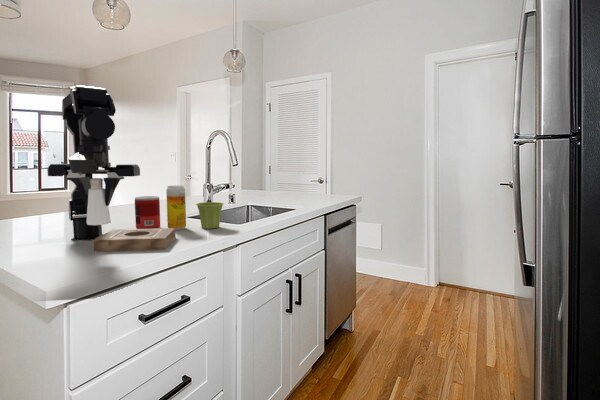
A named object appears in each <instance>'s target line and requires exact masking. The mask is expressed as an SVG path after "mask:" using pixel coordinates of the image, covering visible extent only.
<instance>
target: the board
mask: <svg viewBox="0 0 600 400" xmlns="http://www.w3.org/2000/svg"><path fill="white" fill-rule="evenodd" d="M102 234H103V233H102ZM175 239H176V230H175V228H168V227H166V228H165V227H163V228H162V227H161V228H158V229H137V228H131V229H130V228H121V229H120V228H119V229H115V228H114V229H110V231H109V230H108V231H107V232H105V233H104V234H103V235H101V236H100V237H98V238H96V239H94V240H92V243H93V244H92V246H93V252H113V251H114V252H115V251H120V252H121V251H144V250H145V251H146V250H148V251H149V250H151V251H152V250H166V249H167V248H168V247H169V246H170V245H171V243H172V242H173V241H174V240H175Z"/></svg>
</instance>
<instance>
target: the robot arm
mask: <svg viewBox="0 0 600 400" xmlns="http://www.w3.org/2000/svg"><path fill="white" fill-rule="evenodd" d="M69 89H70V90H69V94H67V95H65V97H64V98H62V102H61V105H62V106H61V114H62V115H61V118H62V120H63V121H65V127H66V129H67V130H68V132H69V133H70V134H71V135H72V141H73V155H71V156H70V157H68V158H67V160H68V163H52V164H49V165H48V167H47V177H63V176H67V177H66V178H65V179H66V181H70V182H72V183H73V184H74V185H75V187H74V189H73V190H72V191H71V194H70V199H68V219H69V220H70V221H72V229H73V237H72V238H71V239H70V241H93V240H94V239H96V238H98V237H100V236H101V235H103V230H102V229H103V228H102V227H103V225H88V224H87V206H88V189H90V188H91V185H90V184H91V183H90V179H91V178H93V177H94V176H93V175H106V176H107V177H102V179H103V183H104V189H105V204H106V206H108V207H109V206H110V204H111V202H112V198H113V196H114V194H115V190H116V189H117V187H118V185H119V182H120V181H121V180H124V179H125V177H138V176H141V168H140V166H139V165H138V164H136V163H135V164H134V163H133V164H130V163H129V164H127V163H126V164H125V163H124V164H116V165H115V166H112V165H111V164H112V163H111V162H110V159H109V155H110V154H109V151H110V150H111V146H110V145H109V138H111V137H112V136H113V134H114V133H115V131H116V124H115V121H114V120H113V119H112V117H114V116H115V114H116V111H117V109H116V107H115V103H114V100H113V98H112V95H111V93H108V90H107V88H102V87H95V86H86V85H78V84H76V85H75V86H71V87H70V88H69Z"/></svg>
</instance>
